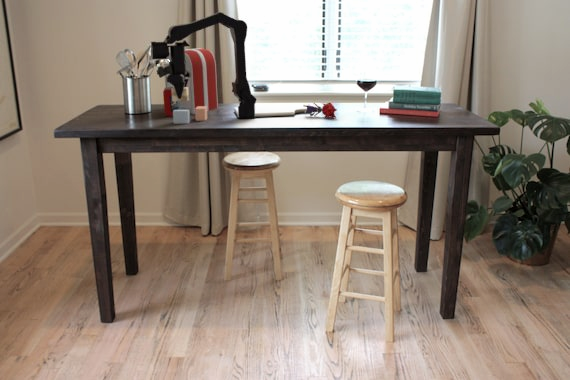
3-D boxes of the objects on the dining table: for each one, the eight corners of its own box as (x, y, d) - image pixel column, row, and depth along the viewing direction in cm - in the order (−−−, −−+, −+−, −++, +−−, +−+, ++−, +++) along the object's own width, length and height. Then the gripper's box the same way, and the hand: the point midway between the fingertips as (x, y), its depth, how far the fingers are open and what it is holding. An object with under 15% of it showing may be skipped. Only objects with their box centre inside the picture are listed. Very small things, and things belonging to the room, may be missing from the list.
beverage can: (177, 117, 262) (175, 89, 258) (162, 116, 263) (160, 88, 260) (182, 114, 268) (181, 87, 265) (168, 114, 269) (166, 86, 266)
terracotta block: (198, 118, 260) (197, 106, 258) (207, 118, 259) (206, 106, 258) (195, 120, 254) (195, 108, 252) (205, 120, 254) (204, 108, 252)
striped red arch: (219, 108, 284) (216, 48, 276) (194, 113, 269) (190, 51, 262) (191, 105, 292) (188, 47, 284) (166, 111, 278) (161, 50, 270)
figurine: (306, 112, 263) (340, 114, 259) (300, 120, 256) (336, 122, 252) (305, 98, 260) (340, 100, 256) (300, 106, 253) (335, 107, 249)
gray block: (190, 121, 252) (189, 109, 250) (188, 123, 248) (187, 111, 247) (175, 121, 252) (174, 109, 251) (173, 123, 248) (172, 111, 247)
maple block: (188, 99, 249) (188, 87, 248) (187, 101, 245) (186, 88, 244) (174, 99, 249) (173, 87, 248) (172, 101, 246) (171, 88, 244)
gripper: (162, 56, 252) (165, 94, 256) (152, 60, 234) (155, 101, 239) (189, 56, 252) (192, 94, 256) (181, 60, 234) (183, 101, 238)
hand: (180, 97), depth 247 cm, fingers closed on maple block, 4 cm apart
